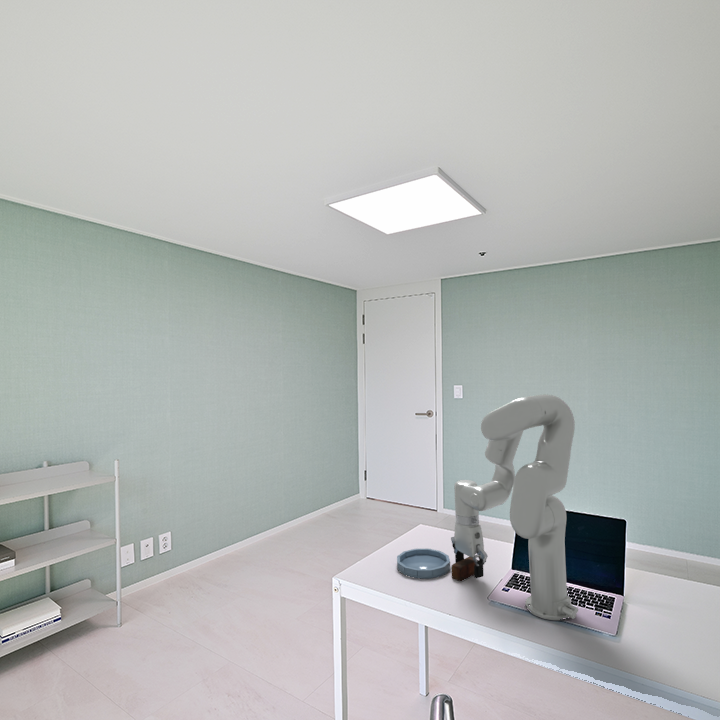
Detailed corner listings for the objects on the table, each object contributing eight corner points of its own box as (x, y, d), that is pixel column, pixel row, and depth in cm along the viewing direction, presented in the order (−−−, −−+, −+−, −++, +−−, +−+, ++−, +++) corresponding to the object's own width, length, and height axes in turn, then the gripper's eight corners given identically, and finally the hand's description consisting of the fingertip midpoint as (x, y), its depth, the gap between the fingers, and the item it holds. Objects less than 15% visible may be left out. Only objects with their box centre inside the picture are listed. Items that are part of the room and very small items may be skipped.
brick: (461, 582, 147) (460, 568, 147) (451, 579, 150) (450, 564, 150) (480, 572, 154) (480, 558, 154) (470, 568, 157) (470, 555, 157)
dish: (460, 570, 155) (460, 562, 155) (415, 583, 148) (414, 574, 148) (430, 552, 172) (430, 545, 172) (388, 563, 164) (387, 555, 164)
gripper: (494, 524, 145) (496, 579, 145) (459, 509, 161) (461, 559, 161) (475, 529, 142) (477, 584, 142) (442, 513, 158) (444, 563, 157)
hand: (469, 571), depth 151 cm, fingers open, 9 cm apart
